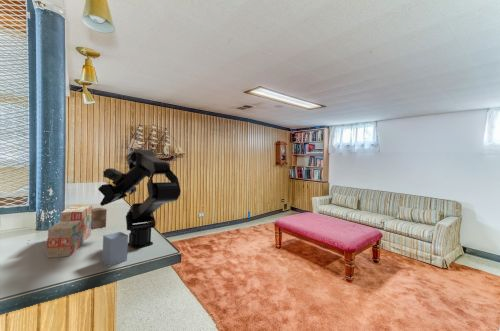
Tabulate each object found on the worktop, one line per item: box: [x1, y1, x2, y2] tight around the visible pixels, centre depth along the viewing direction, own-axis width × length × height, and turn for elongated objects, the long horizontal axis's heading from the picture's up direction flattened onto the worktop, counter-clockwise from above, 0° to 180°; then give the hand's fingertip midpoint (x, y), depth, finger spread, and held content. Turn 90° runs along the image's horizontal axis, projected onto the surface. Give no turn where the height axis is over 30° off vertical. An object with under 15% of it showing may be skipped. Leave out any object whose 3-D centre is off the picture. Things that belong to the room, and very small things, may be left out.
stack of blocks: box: [46, 204, 93, 259], centre depth 80 cm, size 21×6×12 cm, turn 21°
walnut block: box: [91, 207, 107, 230], centre depth 101 cm, size 5×5×8 cm
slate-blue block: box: [101, 231, 129, 267], centre depth 70 cm, size 5×5×8 cm
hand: (102, 204), depth 86 cm, fingers open, 2 cm apart
